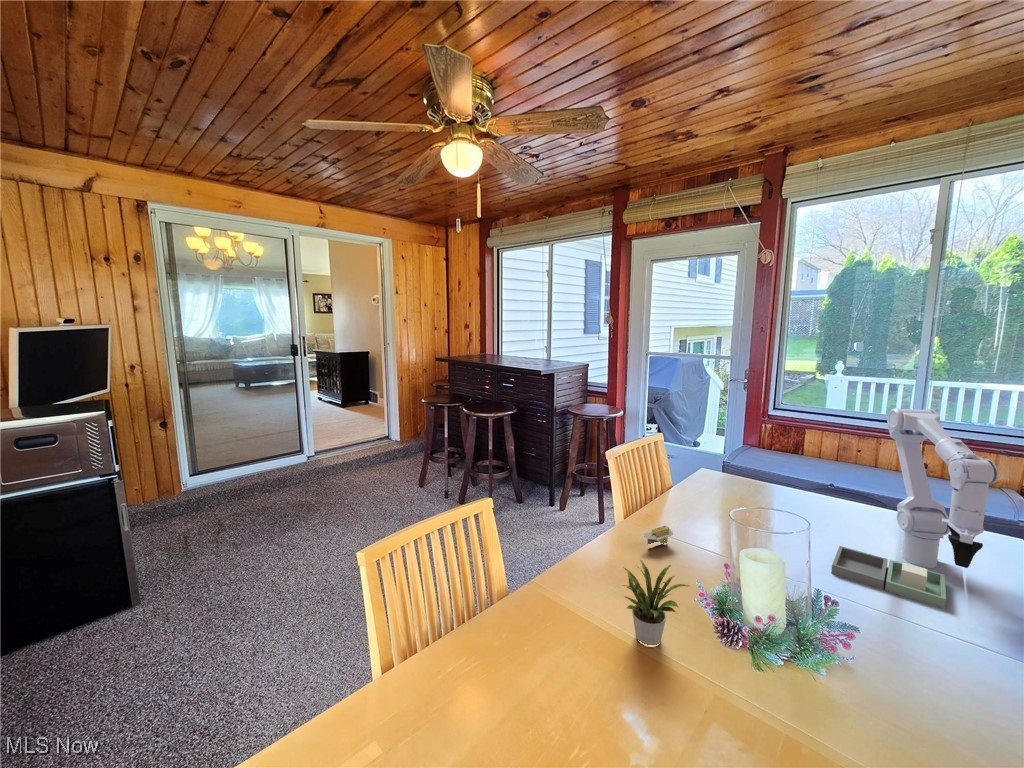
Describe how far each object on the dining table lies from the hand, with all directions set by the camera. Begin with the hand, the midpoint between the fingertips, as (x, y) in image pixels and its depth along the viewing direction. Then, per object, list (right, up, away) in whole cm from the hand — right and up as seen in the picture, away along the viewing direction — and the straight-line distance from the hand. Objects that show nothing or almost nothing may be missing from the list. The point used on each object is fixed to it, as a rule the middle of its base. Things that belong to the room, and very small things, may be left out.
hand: (960, 559), depth 105 cm
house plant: (-80, -13, -12) cm, 81 cm away
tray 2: (-8, -9, +4) cm, 13 cm away
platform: (-65, -8, +26) cm, 71 cm away
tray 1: (-16, -8, +11) cm, 21 cm away
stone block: (-8, -8, +4) cm, 12 cm away
